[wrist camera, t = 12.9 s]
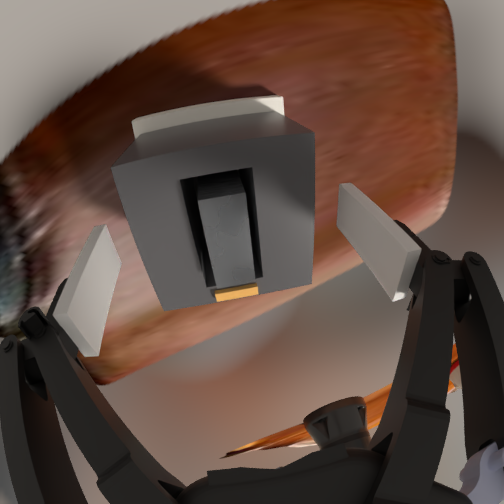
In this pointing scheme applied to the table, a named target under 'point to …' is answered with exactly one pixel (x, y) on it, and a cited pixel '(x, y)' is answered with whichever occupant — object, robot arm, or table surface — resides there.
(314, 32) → the table surface
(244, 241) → the shaft stand
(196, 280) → the gray slotted block
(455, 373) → the kitchen timer
